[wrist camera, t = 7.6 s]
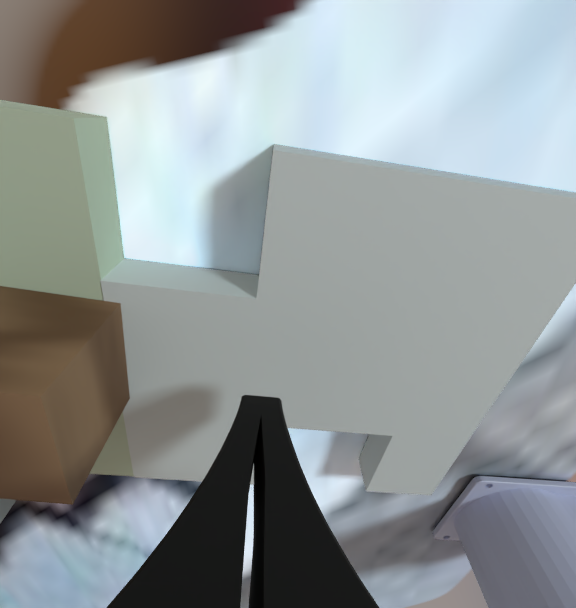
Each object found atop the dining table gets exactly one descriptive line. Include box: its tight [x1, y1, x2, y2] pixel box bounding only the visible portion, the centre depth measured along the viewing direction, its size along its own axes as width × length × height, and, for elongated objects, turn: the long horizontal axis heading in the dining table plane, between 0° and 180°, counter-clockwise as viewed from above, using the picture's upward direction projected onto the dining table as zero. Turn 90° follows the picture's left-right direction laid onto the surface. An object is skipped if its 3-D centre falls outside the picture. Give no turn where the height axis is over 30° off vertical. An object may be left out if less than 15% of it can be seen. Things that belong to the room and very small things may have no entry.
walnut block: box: [0, 286, 130, 504], centre depth 11 cm, size 5×5×4 cm
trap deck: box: [0, 100, 576, 523], centre depth 13 cm, size 23×17×4 cm
